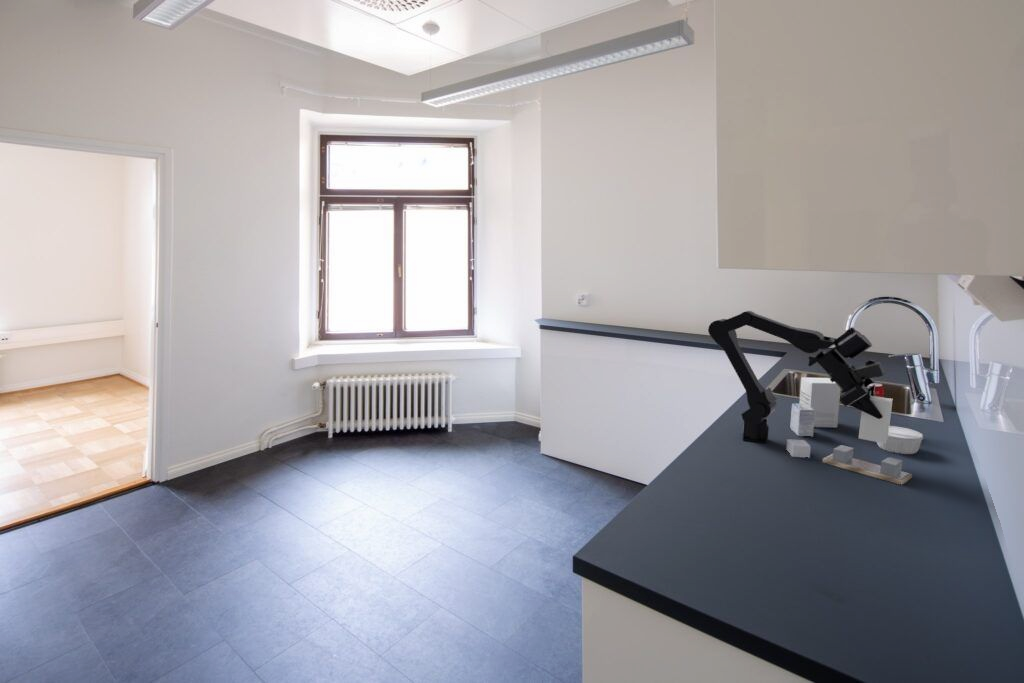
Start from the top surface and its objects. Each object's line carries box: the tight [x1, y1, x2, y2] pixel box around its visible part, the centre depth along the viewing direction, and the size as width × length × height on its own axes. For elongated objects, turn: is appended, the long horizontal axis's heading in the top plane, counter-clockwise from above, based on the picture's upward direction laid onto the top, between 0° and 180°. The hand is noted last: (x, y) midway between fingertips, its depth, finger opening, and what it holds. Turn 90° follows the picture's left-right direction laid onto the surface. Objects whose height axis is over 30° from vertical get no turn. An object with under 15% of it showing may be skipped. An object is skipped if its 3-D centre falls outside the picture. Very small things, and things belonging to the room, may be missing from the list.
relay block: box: [785, 438, 812, 459], centre depth 146 cm, size 4×5×4 cm
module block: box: [858, 396, 894, 444], centre depth 138 cm, size 6×5×11 cm
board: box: [822, 453, 913, 486], centre depth 135 cm, size 18×7×1 cm, turn 37°
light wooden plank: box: [826, 454, 909, 480], centre depth 135 cm, size 17×6×1 cm, turn 37°
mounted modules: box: [832, 444, 904, 477], centre depth 135 cm, size 14×5×3 cm, turn 37°
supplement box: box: [799, 376, 842, 429], centre depth 173 cm, size 9×9×15 cm
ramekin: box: [876, 425, 924, 455], centre depth 150 cm, size 11×11×5 cm
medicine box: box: [789, 402, 815, 438], centre depth 164 cm, size 8×4×9 cm, turn 168°
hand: (882, 415), depth 137 cm, fingers closed on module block, 5 cm apart
